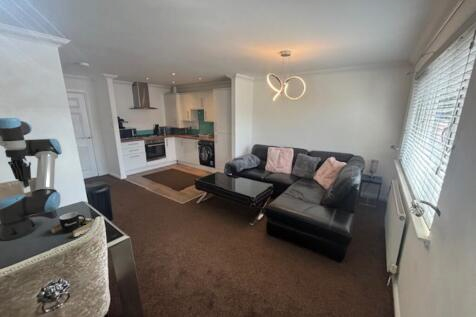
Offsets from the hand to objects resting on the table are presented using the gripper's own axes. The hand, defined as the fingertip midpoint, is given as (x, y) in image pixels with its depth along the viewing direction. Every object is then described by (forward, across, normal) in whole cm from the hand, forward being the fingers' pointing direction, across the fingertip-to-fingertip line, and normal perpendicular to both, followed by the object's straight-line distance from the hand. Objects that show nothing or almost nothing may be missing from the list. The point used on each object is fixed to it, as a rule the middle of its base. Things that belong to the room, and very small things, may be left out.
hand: (26, 192), depth 105 cm
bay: (+30, +7, +15) cm, 35 cm away
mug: (+31, +6, +15) cm, 35 cm away
